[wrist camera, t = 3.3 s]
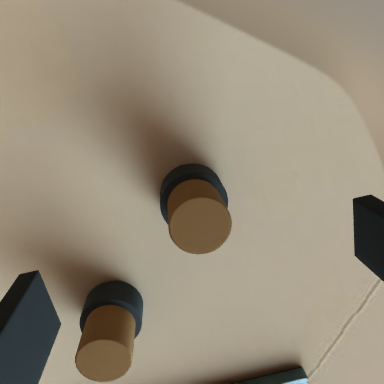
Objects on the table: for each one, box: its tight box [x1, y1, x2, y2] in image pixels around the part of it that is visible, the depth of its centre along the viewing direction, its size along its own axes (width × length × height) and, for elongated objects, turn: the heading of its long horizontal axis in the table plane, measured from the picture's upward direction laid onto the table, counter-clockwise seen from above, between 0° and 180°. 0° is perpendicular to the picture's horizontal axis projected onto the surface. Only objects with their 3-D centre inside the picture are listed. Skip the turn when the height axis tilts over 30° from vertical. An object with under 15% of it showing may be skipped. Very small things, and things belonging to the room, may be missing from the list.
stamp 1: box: [75, 281, 143, 382], centre depth 21 cm, size 4×4×5 cm
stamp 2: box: [160, 163, 232, 254], centre depth 19 cm, size 4×4×5 cm
